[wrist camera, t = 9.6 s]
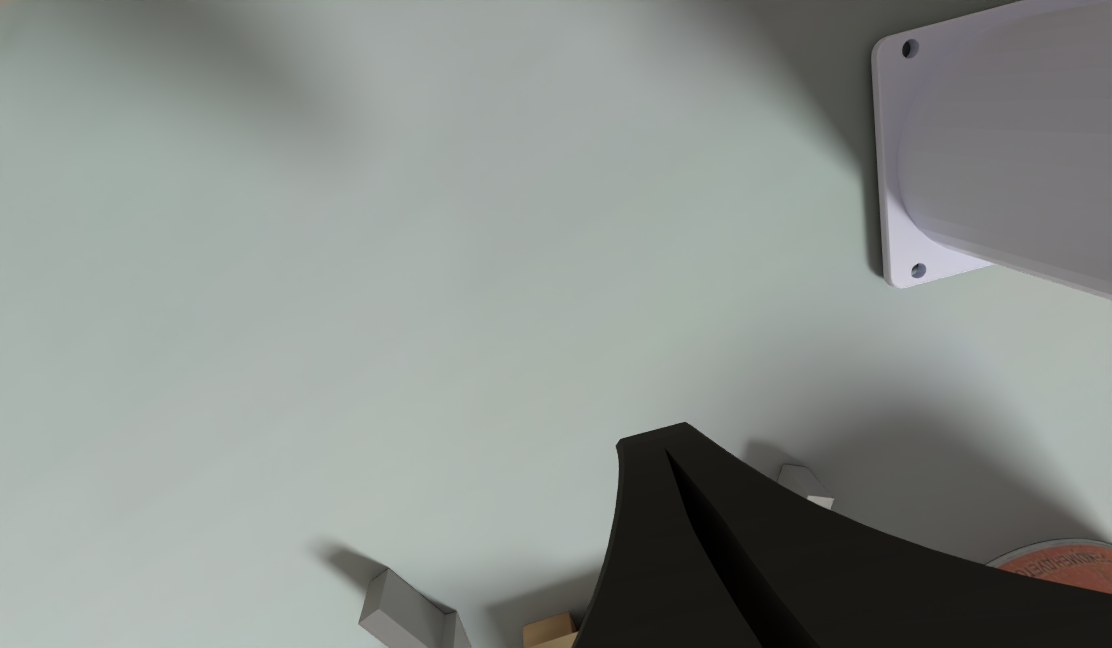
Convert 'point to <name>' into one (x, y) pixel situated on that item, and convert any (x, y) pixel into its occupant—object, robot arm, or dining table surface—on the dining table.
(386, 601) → the dock
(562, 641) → the pallet
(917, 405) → the dining table surface
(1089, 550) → the canned food
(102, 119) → the dining table surface
